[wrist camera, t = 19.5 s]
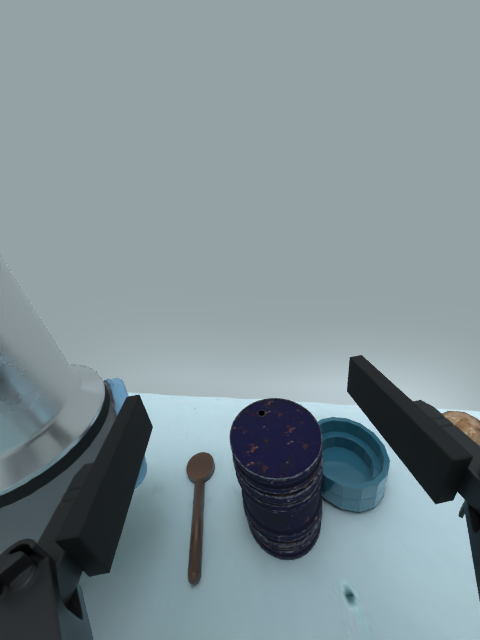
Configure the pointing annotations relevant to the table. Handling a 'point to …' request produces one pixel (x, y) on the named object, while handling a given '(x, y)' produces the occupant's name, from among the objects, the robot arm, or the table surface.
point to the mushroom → (465, 424)
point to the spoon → (198, 509)
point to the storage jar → (279, 475)
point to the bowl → (352, 465)
